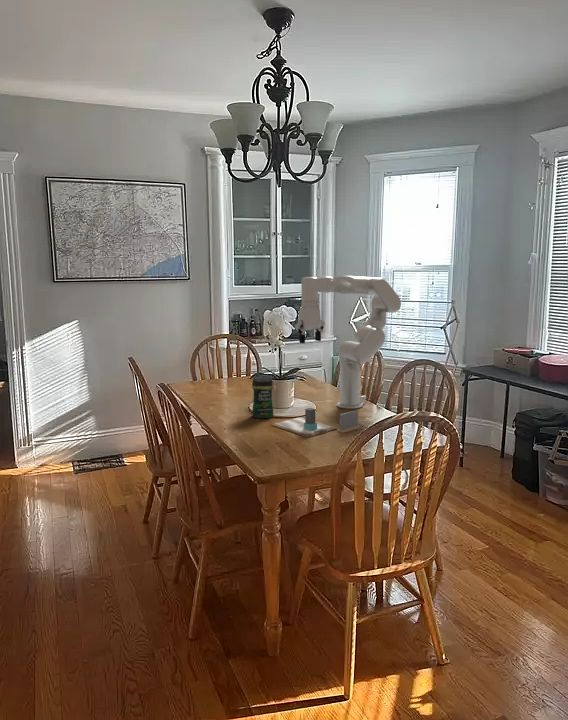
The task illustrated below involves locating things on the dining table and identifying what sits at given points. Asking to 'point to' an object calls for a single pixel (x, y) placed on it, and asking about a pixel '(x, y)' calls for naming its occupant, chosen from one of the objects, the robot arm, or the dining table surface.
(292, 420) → the white flat pad
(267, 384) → the coffee jar
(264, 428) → the dining table surface
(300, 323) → the robot arm
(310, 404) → the dining table surface
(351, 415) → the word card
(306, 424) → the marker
